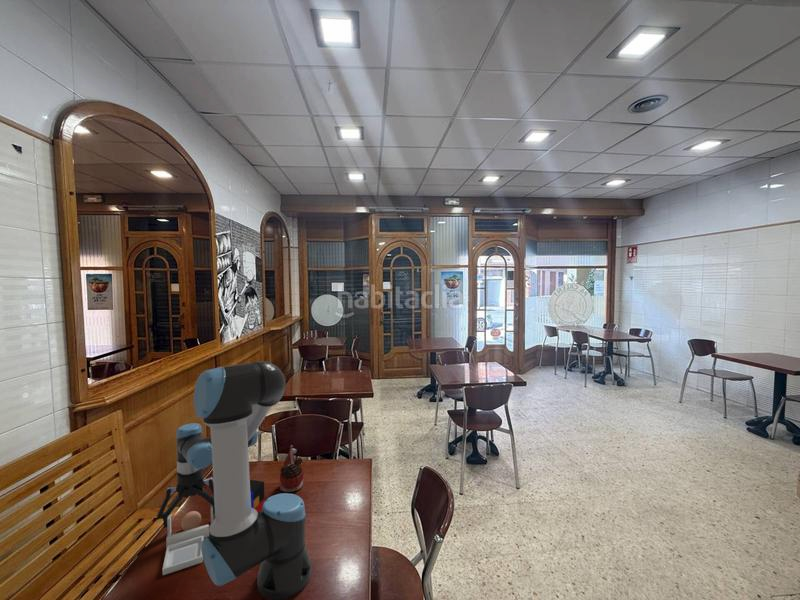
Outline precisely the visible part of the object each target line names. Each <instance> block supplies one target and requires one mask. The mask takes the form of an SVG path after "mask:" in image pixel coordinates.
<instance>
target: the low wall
mask: <svg viewBox="0 0 800 600" xmlns="http://www.w3.org/2000/svg"><path fill="white" fill-rule="evenodd" d="M209 527H210V525H209V524H205V525H201V526H198V527H197V528H194V529H190V530H187V531H185V530H183V531H180V532H178V533H177V532H176V533H173V534H171V535H169V536H168V535H167V536H166V542H165V543H166V547H167V546H169V545H172V544H176V543H179V542H182V541H186V540H189V539H192V538H196V537H199V536H202V535H204V539H205V538H206V537H209Z"/></svg>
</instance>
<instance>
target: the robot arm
mask: <svg viewBox="0 0 800 600" xmlns="http://www.w3.org/2000/svg"><path fill="white" fill-rule="evenodd" d="M286 381H287V380H286V377H285V375H284V373H283V372H282V369H280V368H279V367H278V366H277V365H275V364H273V363H272V362H270V361H262V360H259V361H258V360H257V361H253V362H252V361H251V362H247V363H245V362H244V363H239V364H233V365H226V366H218V367H216V368H215V367H214V368H212V369H211V368H210V369H206V370H204V371H203V372H201V373H200V375H199V376H198V377H197V379H196V382H195V385H194V391H193V406H194V412H195V415H196V416H197V418H199V419H203V421H202V422H203V424H204V425H205V426H207V427H209V428H210V436H207V437H203V427H202V425H201V424H200V423H197V422H193V423H187V424H183V425H181V426H180V427H178V428H177V429H176V432H175V433H176V434H175V435H176V436H175V441H176V443H175V444H176V472H177V474H176V478H177V480H176V481H177V483H176V484H177V485H176V486H171V485H169V486H167V488H166V493H165V496H164V499H163V501H162V503H161V506H160V508H159V510H158V512H157V514H156V520H160V519H161V520H163V528H165V529H166V528H167V536H169V535H172V512H174V510H175V508H176V507H177V505H178V504H179V503H180V501H181V500H182V499H183V498H189V497H194V496H196V495H198V496H199V497H202V498H203V499H205V501H207V502H208V503H209V504H210V525H209V536H208V537H205V538H204V540H203V541H202V542H201V550H202V556H203V563H204V566H205V567H206V572H207V574H208V576H209V578H210V579H211V581H212V582H213V584H214V585H215V586H217V587H219V586H220V587H221V586H224V585H225V584H228V583H229V582H231V581H233V580H236V579H237V578H239V577H240V576H242V575H244V574H245V573H247V572H248V571H250V570H251V569H253V568H255V567H256V566H258V565H259V564H260V566H259V569H258V573H257V578H256V580H257V582H256V583H257V590H258V592H259V594H260V595H261V596H262V597H263V598H264V599H267V600H285V599H288V598H291V597H292V596H295V595H296V594H298V593H299V592H301V591H302V590H303V589H304V588H305V587H306V586H307V585H308V583H309V581H310V579H311V576H312V559H311V557H310V554H309V552H308V549H307V547H306V516H307V515H306V510H305V509H306V507H305V502H304V500H303V499H302V497H300V496H299V495H296V494H294V493H289V492H286V493H285V492H283V493H277V494H275V495H271V496H270V497H268V498H267V499H266V500H264V504H263V506H262V510H261V511H260V512H258V513H257V511H256V510H255V509H253V508H252V507H251V493H250V480H251V479H250V463H249V462H250V459H249V448H250V447H253V446H254V445H256V444H257V442H258V439H259V438H258V436H259V435H258V431H257V430H258V429H259V428H260V426H261V424H262V422H263V421H264V420H265V418H266V416H267V415H268V413H269V411H271V408H272V407H274V406H276V405H277V404H278V403H279V402H280V401H281V399H282V398H283V396H284V394H285V391H286V385H287V384H286V383H287V382H286ZM210 465H212V476H209V478H206V479H204V478H203V477H204V476H203V474H204V473H203V469H206V468H207V467H209V466H210ZM205 484H206V486H208V487H209V489H210V491H211V492H212V494H213V495H212V494H210V493H209V492H208V491H207V490H206V489H205V488H204V485H205ZM174 492H176V493H178V494H177V495H176V496H175V498H174V500H172V503H171V504H170V505H169V506H168V508H167V509H166V507H167V505H168V503H169V501H170V499H171V496H172V495H174ZM165 509H166V510H165Z"/></svg>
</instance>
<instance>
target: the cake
mask: <svg viewBox="0 0 800 600" xmlns="http://www.w3.org/2000/svg"><path fill="white" fill-rule="evenodd" d="M293 447H294V446H293V445H291V444H290V448H289V449H290V450H289V451H288V454H287V456H286V458H285V459H284V462H283V465H282V467H281V468H280V474H279V483H280V485H279V489H280V491H282V492H283V493H285V492H286V493H289V492H295V491H298V490H300V489H301V488H303V486H304V470H303V468H302V466H301V465H302V462H303V458H301V457H300V456H298V457H296V458H295V457H294V455H295V454H296V453H297V449H296V448H293Z"/></svg>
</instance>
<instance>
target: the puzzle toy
mask: <svg viewBox="0 0 800 600" xmlns="http://www.w3.org/2000/svg"><path fill="white" fill-rule="evenodd" d="M250 493H251V507H252V508H253V509H255V510H256V511H257V513H258V512H260V511H262V506H263V504H264V502H265V481H261V480H256V479H255V480H254V479H250Z"/></svg>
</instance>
